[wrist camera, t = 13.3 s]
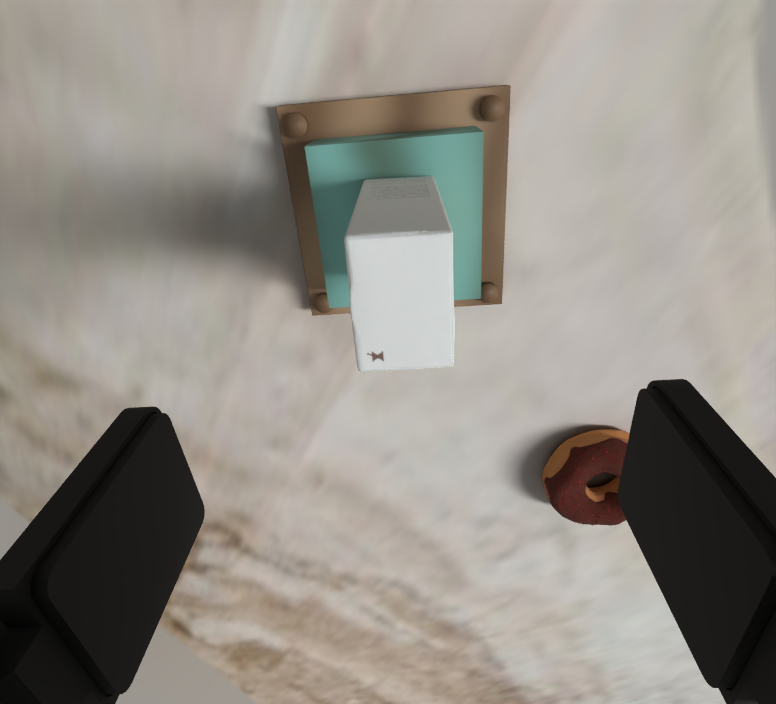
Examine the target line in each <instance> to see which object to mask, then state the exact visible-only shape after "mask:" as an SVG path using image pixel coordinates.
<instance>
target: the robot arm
mask: <svg viewBox="0 0 776 704" xmlns="http://www.w3.org/2000/svg"><path fill="white" fill-rule="evenodd" d="M618 501H619V504H620V507H621V510H622V512H623V514H624V516H625V518H626V520H627V522H628V524H629V526H630V528H631V530H632V532H633V534H634V536H635V538H636V540H637V542H638V544H639V546H640V548H641V550H642V553H643V555H644V557H645V559H646V561H647V563H648V565H649V567H650V569H651V571H652V573H653V575H654V577H655V579H656V581H657V583H658V585H659V587H660V589H661V591H662V593H663V595H664V598H665V600H666V602H667V604H668V606H669V608H670V610H671V612H672V614H673V616H674V618H675V620H676V622H677V624H678V626H679V628H680V630H681V632H682V634H683V636H684V638H685V640H686V643H687V645H688V647H689V649H690V651H691V653H692V655H693V657H694V659H695V661H696V663H697V665H698V667H699V669H700V671H701V673H702V675H703V677H704V679H705V680H706V682H707V683H708V684H709V685H710V686H711V687H713V688H719V690H720V692H721V694H722V696H723V698H724V700H725V702H726V704H776V478H775V477H774V476H773V474H772V473H771V472H770V471H769V470H768V469H767V468H766V467H765V466H764V464H763V463H762V462H761V461H760V460H759V459H758V458H757V457H756V456H755V454H754V453H753V452H752V451H751V450H750V449H749V448H748V447H747V446H746V444H745V443H744V442H743V441H742V440H741V439H740V438H739V437H738V436H737V434H736V433H735V432H734V431H733V430H732V429H731V428H730V427H729V426H728V424H727V423H726V422H725V421H724V420H723V419H722V418H721V417H720V416H719V414H718V413H717V412H716V411H715V410H714V409H713V408H712V407H711V406H710V405H709V403H708V402H707V401H706V400H705V399H704V398H703V397H702V396H701V395H700V393H699V392H698V391H697V390H696V389H695V388H694V387H693V386H692V385H691V383H690V382H688V381H687V380H684V379H675V380H656V381H651V382H650V383H649V385H648V387H647V389H641V390H640V391H639V393H638V397H637V401H636V406H635V411H634V415H633V420H632V425H631V430H630V434H629V439H628V444H627V448H626V453H625V458H624V462H623V467H622V472H621V476H620V481H619V486H618ZM203 520H204V505H203V502H202V499H201V497H200V494H199V491H198V489H197V486H196V484H195V481H194V479H193V476H192V474H191V471H190V468H189V466H188V463H187V461H186V458H185V456H184V453H183V450H182V448H181V445H180V443H179V440H178V438H177V435H176V433H175V430H174V427H173V425H172V422H171V420H170V418H169V416H168V415H167V414H165V413H162V412H161V411H160V410H159V409H158V408H157V407H138V408H127V409H124V410H123V411H122V412H121V413H120V414H119V416H118V417H117V418H116V419H115V420H114V422H113V423H112V424H111V425H110V427H109V428H108V429H107V430H106V431H105V433H104V434H103V435H102V436H101V438H100V439H99V440H98V441H97V442H96V444H95V445H94V446H93V447H92V449H91V450H90V451H89V452H88V454H87V455H86V456H85V457H84V458H83V460H82V461H81V462H80V463H79V465H78V466H77V467H76V468H75V469H74V471H73V472H72V473H71V474H70V476H69V477H68V478H67V479H66V480H65V482H64V483H63V484H62V485H61V487H60V488H59V489H58V490H57V491H56V493H55V494H54V495H53V496H52V498H51V499H50V500H49V501H48V502H47V504H46V505H45V506H44V507H43V509H42V510H41V511H40V512H39V513H38V515H37V516H36V517H35V518H34V520H33V521H32V522H31V523H30V524H29V526H28V527H27V528H26V529H25V531H24V532H23V533H22V534H21V536H20V537H19V538H18V539H17V540H16V542H15V543H14V544H13V545H12V546H11V548H10V549H9V550H8V551H7V553H6V554H5V555H4V556H3V557H2V559H1V560H0V704H115V703H116V701H117V699H118V696H119V694H123V693H124V692H126V691H127V690H128V688H129V687H130V685H131V683H132V681H133V679H134V677H135V674H136V672H137V670H138V668H139V666H140V663H141V661H142V658H143V657H144V654H145V652H146V650H147V647H148V645H149V643H150V641H151V638H152V636H153V634H154V632H155V629H156V627H157V625H158V623H159V620H160V618H161V616H162V614H163V611H164V609H165V607H166V604H167V602H168V600H169V598H170V595H171V593H172V591H173V589H174V586H175V584H176V582H177V580H178V577H179V575H180V573H181V571H182V568H183V566H184V564H185V561H186V559H187V557H188V555H189V552H190V550H191V548H192V546H193V543H194V541H195V539H196V537H197V534H198V532H199V530H200V528H201V525H202V523H203Z"/></svg>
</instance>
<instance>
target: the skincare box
mask: <svg viewBox="0 0 776 704" xmlns="http://www.w3.org/2000/svg"><path fill="white" fill-rule="evenodd" d="M344 245H345V254H346V264H347V273H348V283H349V293H350V312H351V318H352V325H353V334H354V342H355V351H356V359H357V366H358V370H359V371H360V372H371V371H385V370H404V369H427V368H442V367H452V366H453V365H454V338H455V320H454V284H453V231H452V228H451V225H450V222H449V220H448V217H447V213H446V211H445V208H444V205H443V202H442V199H441V196H440V193H439V190H438V187H437V185H436V182H435V179H434V177H433V176H422V177H402V178H383V179H367V180H364V182H363V184H362V187H361V191H360V194H359V196H358V199H357V202H356V205H355V208H354V211H353V214H352V217H351V220H350V223H349V226H348V229H347V232H346V235H345V238H344Z"/></svg>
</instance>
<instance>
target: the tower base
mask: <svg viewBox="0 0 776 704" xmlns="http://www.w3.org/2000/svg"><path fill="white" fill-rule="evenodd" d="M276 109H277V115H278V121H279V127H280V132H281V138H282V144H283V150H284V155H285V161H286V167H287V173H288V178H289V184H290V190H291V196H292V201H293V207H294V213H295V219H296V224H297V230H298V236H299V242H300V247H301V253H302V259H303V265H304V270H305V276H306V282H307V288H308V293H309V299H310V305H311V311H312V316H313V315H329V314H345V313H351V312H350V293H349V283H348V273H347V264H346V254H345V245H344V238H345V235H346V232H347V229H348V226H349V223H350V220H351V217H352V214H353V211H354V208H355V205H356V202H357V199H358V196H359V194H360V191H361V187H362V184H363V182H364V180H367V179H383V178H402V177H422V176H433V177H434V179H435V182H436V185H437V187H438V190H439V193H440V196H441V199H442V202H443V205H444V208H445V211H446V213H447V217H448V220H449V222H450V225H451V228H452V231H453V284H454V307H458V306H475V305H491V304H502V288H503V263H504V237H505V212H506V187H507V162H508V137H509V111H510V85H503V86H491V87H480V88H469V89H458V90H447V91H435V92H424V93H413V94H402V95H391V96H379V97H368V98H357V99H346V100H335V101H323V102H312V103H301V104H290V105H280V106H276Z"/></svg>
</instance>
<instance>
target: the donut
mask: <svg viewBox="0 0 776 704" xmlns="http://www.w3.org/2000/svg"><path fill="white" fill-rule="evenodd" d="M628 439H629V433H627V432H625V431H621V430H616V429H602V430H593V431H589V432H585V433H582V434H579V435H577V436H575V437H572V438H570V439H568V440H566V441H565V442H564V443H562V444H561V445H560V446H559V447H558V448H557V449H556V450H555V452H554V453H553V454H552V456H551V457H550V459H549V460H548V462H547V464H546V466H545V467H544V470H543V474H542V481H543V485H544V488H545V490H546V495H547V497H548V500H549V501H550V503H551V505H552V506H553V508H554V509H555V510H556V511H557V512H558V513H559V514H561V515H562V516H563V517H565V518H567V519H569V520H571V521H573V522H576V523H582V524H591V525H617V524H620V523H621V522H623V521H625V520H626V518H625V516H624V514H623V512H622V510H621V507H620V504H619V501H618V486H619V481H620V476H621V472H622V467H623V462H624V458H625V453H626V448H627V444H628ZM604 472H605V473H611V474H614V475H615V476H616V477H615V478H614V479H613V480H612V481H610V482H609V483H607V484H605V485H603V486H599V487H593V488H588V487H587V482H589V479H590V478H592V477H593V476H595V475H597V474H599V473H604Z"/></svg>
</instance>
